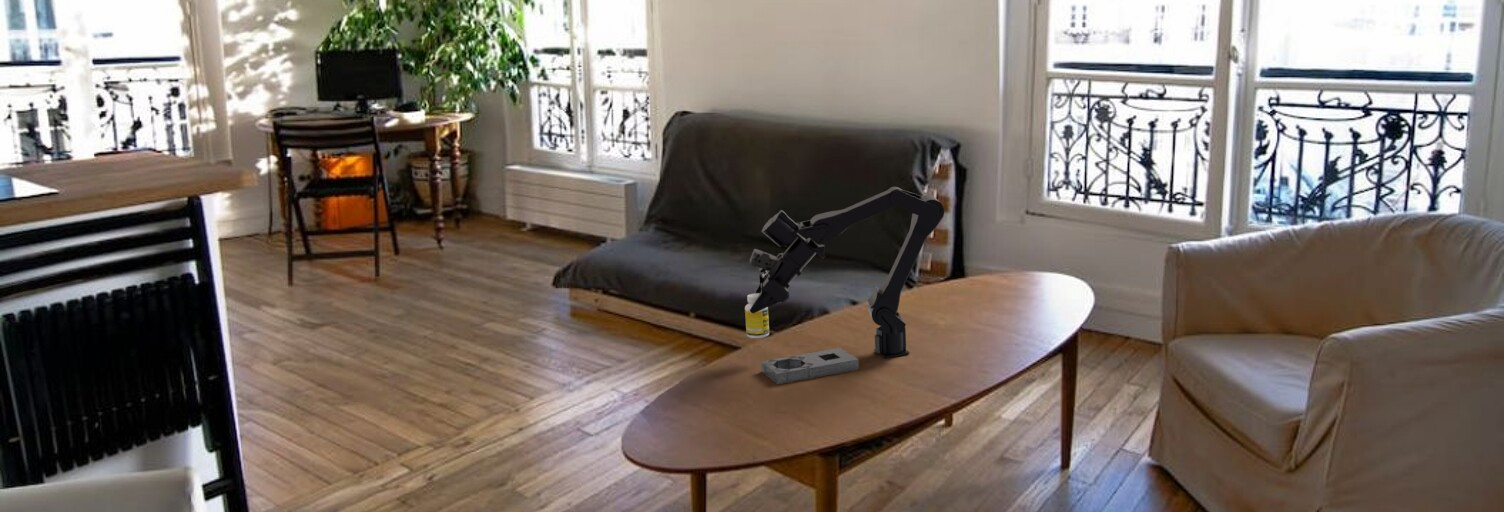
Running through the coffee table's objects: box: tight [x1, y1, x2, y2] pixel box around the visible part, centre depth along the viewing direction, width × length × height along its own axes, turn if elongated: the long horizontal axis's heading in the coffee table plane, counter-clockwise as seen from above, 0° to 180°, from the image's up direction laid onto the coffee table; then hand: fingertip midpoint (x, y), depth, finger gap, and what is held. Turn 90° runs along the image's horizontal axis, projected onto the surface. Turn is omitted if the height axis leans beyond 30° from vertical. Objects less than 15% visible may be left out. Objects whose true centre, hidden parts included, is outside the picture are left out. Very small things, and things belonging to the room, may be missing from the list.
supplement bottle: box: [744, 293, 770, 339], centre depth 277 cm, size 5×5×10 cm
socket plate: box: [760, 347, 860, 385], centre depth 271 cm, size 20×10×2 cm, turn 110°
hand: (750, 308), depth 277 cm, fingers closed on supplement bottle, 5 cm apart
